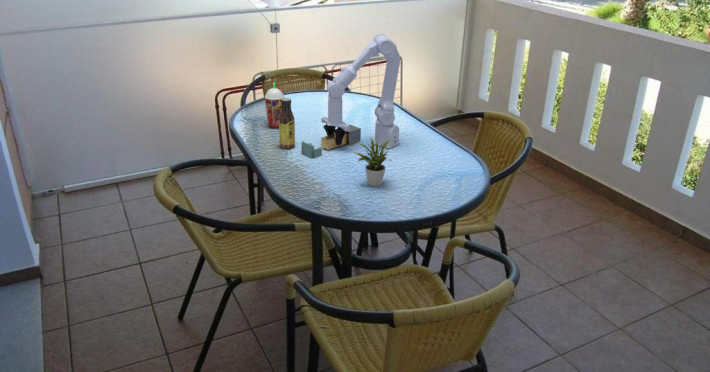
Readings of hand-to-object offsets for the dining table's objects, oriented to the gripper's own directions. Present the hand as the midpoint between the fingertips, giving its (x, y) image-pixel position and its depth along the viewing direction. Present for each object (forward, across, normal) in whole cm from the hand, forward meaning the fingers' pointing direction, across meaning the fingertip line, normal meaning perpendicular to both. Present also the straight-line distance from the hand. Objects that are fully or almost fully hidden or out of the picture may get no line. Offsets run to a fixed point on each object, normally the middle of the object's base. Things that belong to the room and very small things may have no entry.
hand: (335, 143), depth 243 cm
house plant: (+2, +34, -12) cm, 37 cm away
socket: (+1, 0, -13) cm, 13 cm away
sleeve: (+1, 0, +8) cm, 8 cm away
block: (+1, 0, +2) cm, 2 cm away
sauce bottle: (+2, -13, -14) cm, 19 cm away
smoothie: (+2, -35, -3) cm, 35 cm away
